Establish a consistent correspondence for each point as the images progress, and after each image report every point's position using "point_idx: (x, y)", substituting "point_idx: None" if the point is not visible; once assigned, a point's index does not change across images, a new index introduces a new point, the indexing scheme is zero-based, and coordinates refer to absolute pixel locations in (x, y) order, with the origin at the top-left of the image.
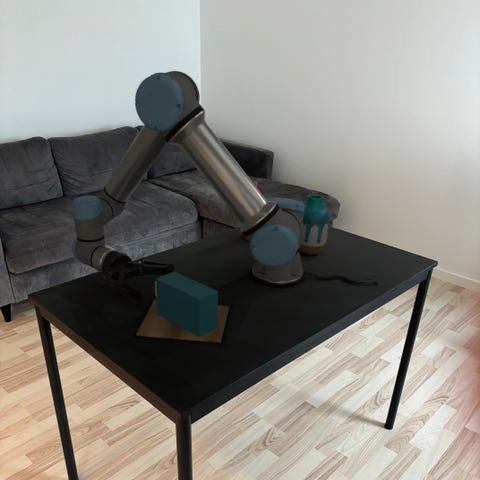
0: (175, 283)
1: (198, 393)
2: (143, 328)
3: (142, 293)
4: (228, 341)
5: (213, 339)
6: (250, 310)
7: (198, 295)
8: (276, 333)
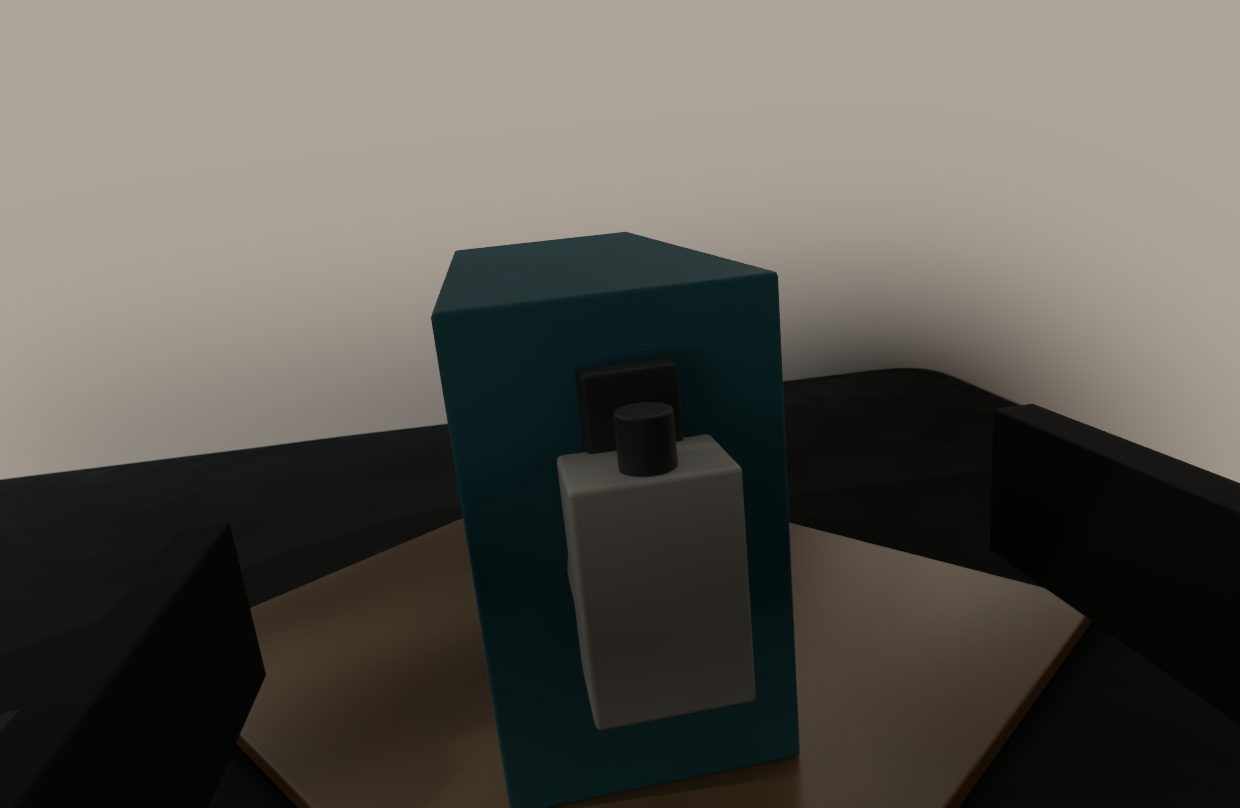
0: (635, 258)
1: (843, 382)
2: (1017, 633)
3: (995, 434)
4: None
5: None
6: None
7: (600, 237)
8: (306, 474)
